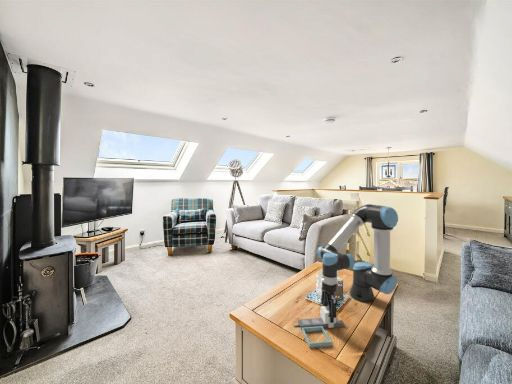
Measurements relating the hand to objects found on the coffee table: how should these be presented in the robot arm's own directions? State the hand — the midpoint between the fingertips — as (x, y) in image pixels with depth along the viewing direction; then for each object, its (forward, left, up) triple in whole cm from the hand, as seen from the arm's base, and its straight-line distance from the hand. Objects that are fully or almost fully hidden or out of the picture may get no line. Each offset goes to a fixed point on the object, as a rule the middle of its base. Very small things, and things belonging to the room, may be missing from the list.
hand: (327, 322), depth 122 cm
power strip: (+6, 0, -2) cm, 6 cm away
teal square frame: (+11, +10, -2) cm, 14 cm away
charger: (0, 0, 0) cm, 0 cm away
